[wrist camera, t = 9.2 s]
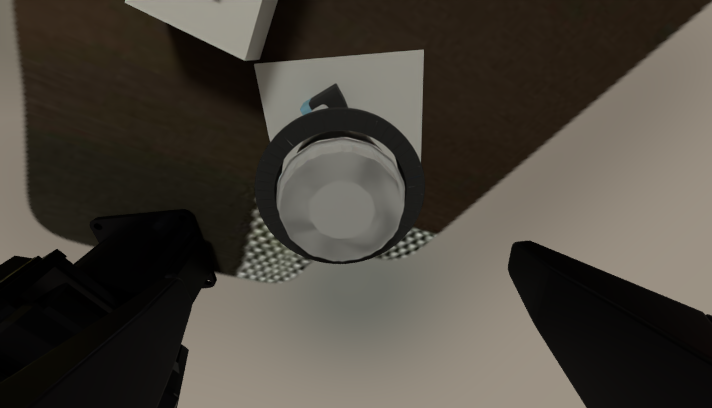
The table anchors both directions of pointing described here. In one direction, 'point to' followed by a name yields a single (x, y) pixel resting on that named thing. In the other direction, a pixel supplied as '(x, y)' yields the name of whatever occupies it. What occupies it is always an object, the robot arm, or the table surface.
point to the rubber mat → (347, 90)
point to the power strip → (218, 21)
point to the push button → (339, 183)
